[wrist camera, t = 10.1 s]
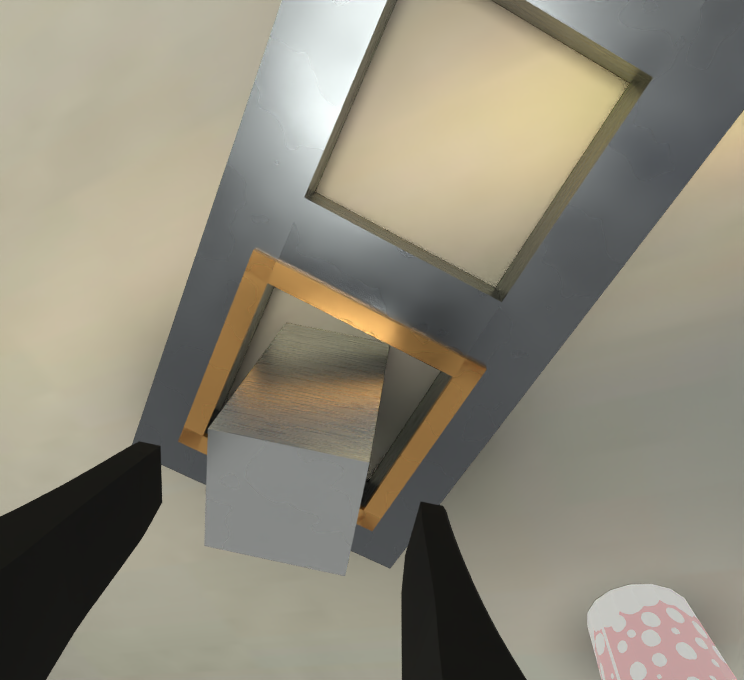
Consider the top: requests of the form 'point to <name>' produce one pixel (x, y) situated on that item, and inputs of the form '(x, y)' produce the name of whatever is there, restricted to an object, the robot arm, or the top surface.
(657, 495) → the top surface
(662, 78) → the rail
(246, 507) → the block
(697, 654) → the beverage cup
